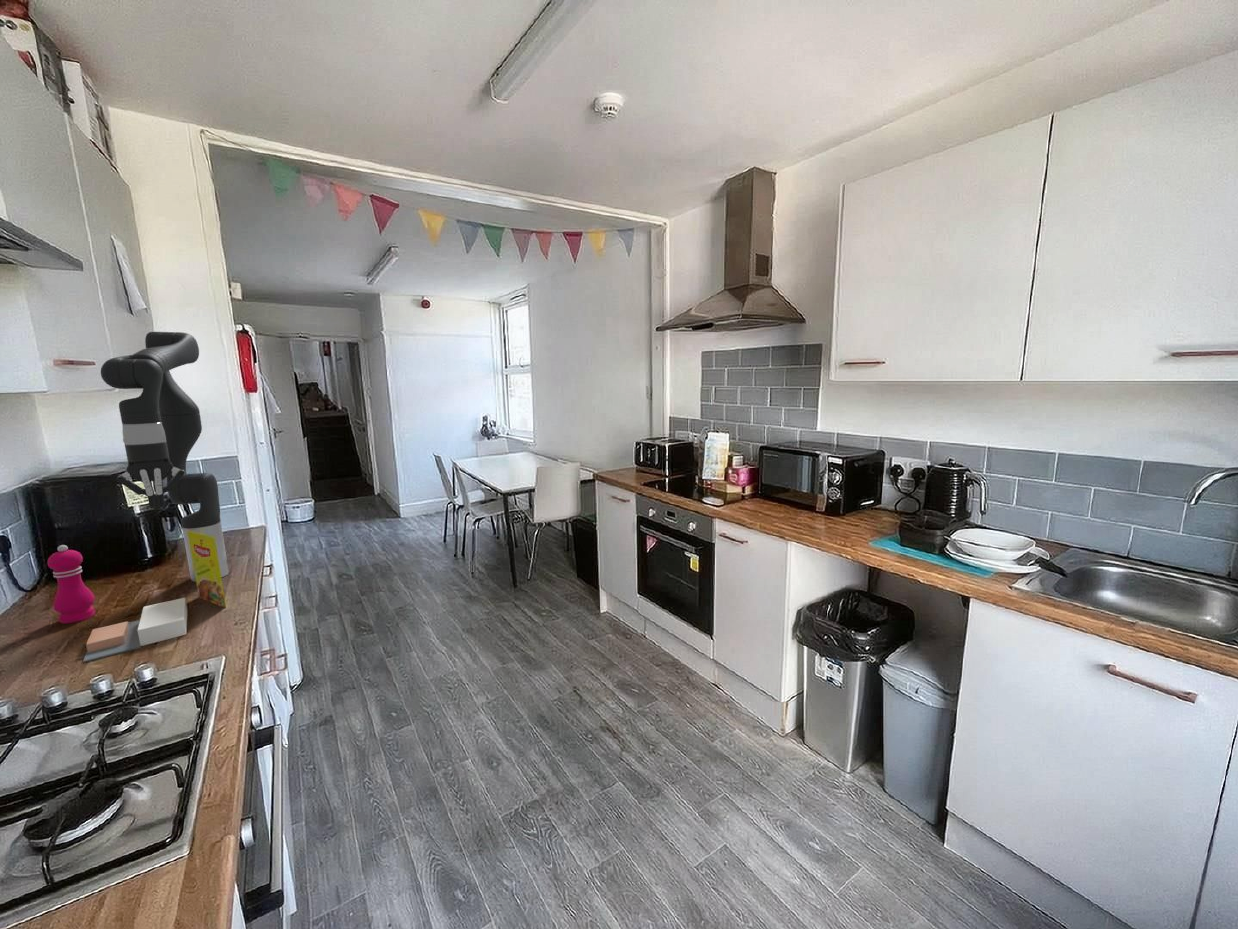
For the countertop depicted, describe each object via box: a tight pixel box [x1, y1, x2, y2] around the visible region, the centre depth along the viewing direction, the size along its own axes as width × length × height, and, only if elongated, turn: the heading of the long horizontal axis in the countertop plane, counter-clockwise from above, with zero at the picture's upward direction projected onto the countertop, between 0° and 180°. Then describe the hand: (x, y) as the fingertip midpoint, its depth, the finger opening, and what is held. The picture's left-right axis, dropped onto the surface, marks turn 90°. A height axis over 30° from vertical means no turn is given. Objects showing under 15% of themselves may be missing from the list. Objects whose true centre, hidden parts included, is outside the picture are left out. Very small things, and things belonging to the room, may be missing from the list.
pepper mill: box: [46, 544, 96, 624], centre depth 126 cm, size 7×7×20 cm
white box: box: [138, 597, 188, 647], centre depth 121 cm, size 16×8×4 cm, turn 40°
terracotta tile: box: [85, 620, 129, 652], centre depth 115 cm, size 9×6×2 cm, turn 40°
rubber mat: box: [82, 619, 142, 664], centre depth 116 cm, size 18×9×1 cm, turn 40°
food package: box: [187, 530, 227, 608], centre depth 134 cm, size 15×1×20 cm, turn 62°
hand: (158, 509), depth 123 cm, fingers closed
